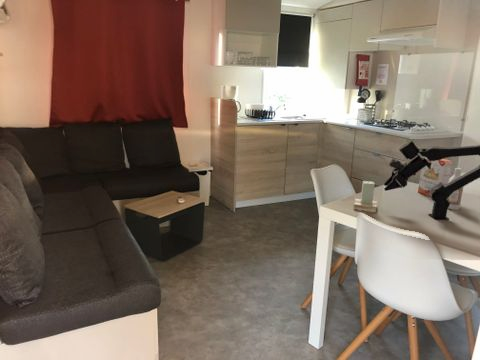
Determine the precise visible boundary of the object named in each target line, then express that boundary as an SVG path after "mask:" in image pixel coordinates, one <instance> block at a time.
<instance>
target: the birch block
mask: <svg viewBox="0 0 480 360" xmlns="http://www.w3.org/2000/svg"><path fill="white" fill-rule="evenodd" d="M360 200H361V198H355V200H354V204H353V210H355V209H360V210H359V211H362V210H364V212H370V213H371V212H372V213H376V212H377V206H378V205H377V203H378V201H377V200H373V201H372V205H370V204H361V201H360Z"/></svg>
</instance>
